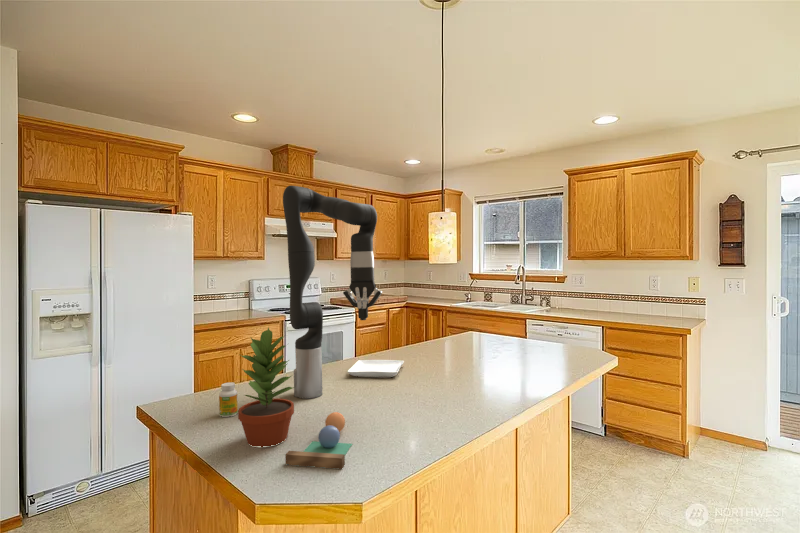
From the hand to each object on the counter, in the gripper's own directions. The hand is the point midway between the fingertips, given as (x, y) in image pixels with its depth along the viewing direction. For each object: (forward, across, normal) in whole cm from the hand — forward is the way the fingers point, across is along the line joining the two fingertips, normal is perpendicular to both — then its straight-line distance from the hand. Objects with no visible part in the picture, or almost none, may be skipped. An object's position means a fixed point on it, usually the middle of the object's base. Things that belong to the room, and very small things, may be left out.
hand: (363, 319), depth 137 cm
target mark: (+29, -2, -31) cm, 42 cm away
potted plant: (+29, -20, -26) cm, 44 cm away
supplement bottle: (+29, -42, -10) cm, 52 cm away
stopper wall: (+29, -2, -38) cm, 47 cm away
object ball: (+26, -2, -28) cm, 38 cm away
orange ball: (+26, -4, -19) cm, 32 cm away
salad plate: (+30, -7, +45) cm, 54 cm away
